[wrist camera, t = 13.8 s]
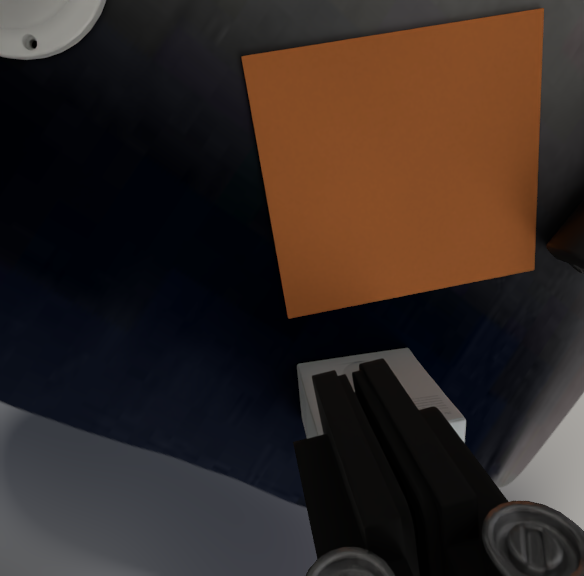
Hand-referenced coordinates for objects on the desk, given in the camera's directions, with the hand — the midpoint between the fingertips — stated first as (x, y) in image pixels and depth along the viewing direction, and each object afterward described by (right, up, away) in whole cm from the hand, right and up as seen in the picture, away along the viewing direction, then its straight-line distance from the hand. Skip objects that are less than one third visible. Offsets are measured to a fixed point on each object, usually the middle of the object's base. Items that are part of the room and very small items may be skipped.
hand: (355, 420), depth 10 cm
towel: (+7, +12, +24) cm, 28 cm away
